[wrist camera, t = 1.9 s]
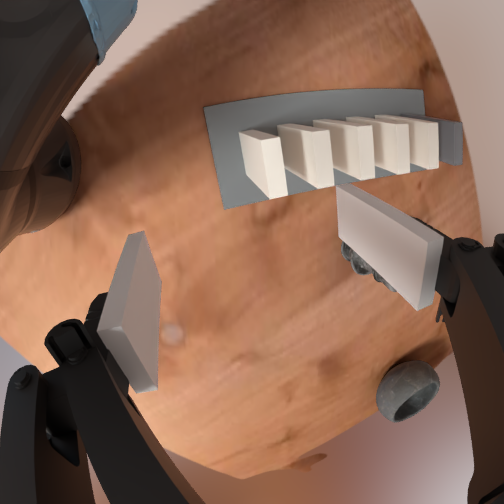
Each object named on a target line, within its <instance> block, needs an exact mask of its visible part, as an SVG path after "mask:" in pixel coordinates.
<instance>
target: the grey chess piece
mask: <svg viewBox="0 0 504 504" xmlns="http://www.w3.org/2000/svg"><path fill="white" fill-rule="evenodd" d="M341 253H342V255H343V257H344V258H345V259H346V260H348V261H350V262H351V266H352V268H353V270H354V271H355V272H356V273H357V274H359V275H369V274H371V273H372V274H373V276H374V279H375V280H376V281H377V282H382V283H383V284H384V285H385V286H386V287H387V288H388V289H389V290H391V291H393V292H397V291H396V290H395V289H394V288H393V287H392V286H391V285H390V284H389V283H388V282H387V281H386V280H385V279H384V278H383V277H382V276H381V275H380V274H379V273H378V272H377V271H375V270H374V269H373V268H372V267H371V266H370V265H369V264H368V263H367V262H366V261H365V260H364V259H363V258H361V257H360V256H359V255H358V254H357V253H356V252H355V251H354V250H353V249H352V248H350V247H349V246H348V245H347V244H346V243H345V242H344V241H343V242H342V245H341Z"/></svg>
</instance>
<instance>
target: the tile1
mask: <svg viewBox="0 0 504 504" xmlns="http://www.w3.org/2000/svg"><path fill="white" fill-rule="evenodd" d="M239 137H240V143H241V148H242V154H243V159H244V165H245V171H246V175H247V176H248V177H249V178H250V179H251V180H252V181H253V182H254V183H255V184H256V185H257V186H258V187H259V188H260V189H261V191H262V192H263V193H264V194H265V195H266V196H267V197H268V198H269V199H273V198H278V197H283V196H287V195H288V191H287V183H286V176H285V169H284V162H283V155H282V148H281V141H280V137H278V136H275V135H271V134H268V133H264V132H260V131H257V130H253V129H252V130H247V131H242V132H239Z"/></svg>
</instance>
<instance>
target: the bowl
mask: <svg viewBox="0 0 504 504" xmlns="http://www.w3.org/2000/svg"><path fill="white" fill-rule="evenodd" d="M439 386H440V381H439V377H438V375H437V373H436V372H435V370H434V369H433V368H432V367H431V366H430V365H429V364H428V363H427V362H424V361H419V360H416V361H408V362H404V363H401V364H399V365H397V366H395V367H394V368H392V369H391V370H390V371H389V372H388V373H387V374H386V375H385V376H384V378H383V379H382V381H381V382H380V384H379V386H378V389H377V394H376V403H377V407H378V409H379V411H380V412H381V413H382V415H383V416H385V417H386V418H387V419H388V420H390V421H392V422H400V421H403V420H405V419H408V418H410V417H412V416H414V415H415V414H417V413H418V412H420V411H421V410H422V409H424V408H425V407H426V406H427V405H428V404H429V402H430V401H431V400H432V399H433V398H434V397H435V396H436V394H437V392H438V390H439Z"/></svg>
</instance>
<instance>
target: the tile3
mask: <svg viewBox="0 0 504 504" xmlns="http://www.w3.org/2000/svg"><path fill="white" fill-rule="evenodd" d="M313 127H316V128H322V129H328V130H329V132H330V141H331V151H332V161H333V168H335V169H337V170H339V171H342V172H344V173H346V174H348V175H350V176H353V177H355V178H357V179H359V180H366V179H372V178H375V162H374V145H373V131H372V125H367V124H360V123H353V122H346V121H339V120H331V119H319V120H313Z"/></svg>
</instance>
